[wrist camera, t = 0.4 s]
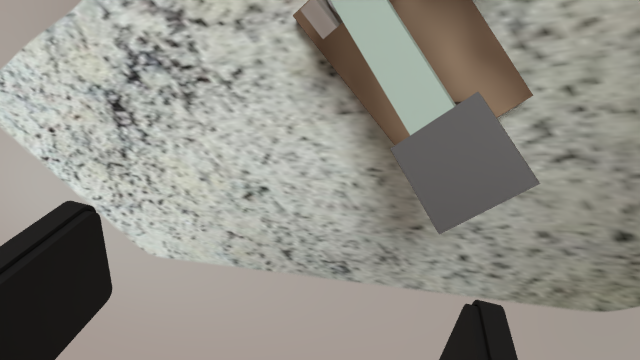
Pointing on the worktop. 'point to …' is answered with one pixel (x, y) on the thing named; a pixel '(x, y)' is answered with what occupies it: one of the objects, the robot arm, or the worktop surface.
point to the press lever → (436, 123)
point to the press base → (438, 48)
